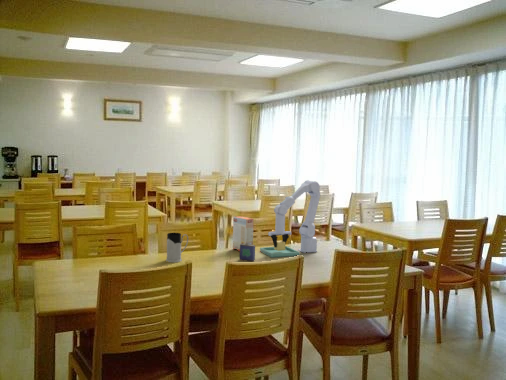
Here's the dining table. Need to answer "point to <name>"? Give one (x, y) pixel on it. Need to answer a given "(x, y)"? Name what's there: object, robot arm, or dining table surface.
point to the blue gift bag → (247, 252)
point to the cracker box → (242, 231)
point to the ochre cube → (280, 246)
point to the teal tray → (279, 252)
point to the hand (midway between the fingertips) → (279, 246)
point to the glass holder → (174, 247)
